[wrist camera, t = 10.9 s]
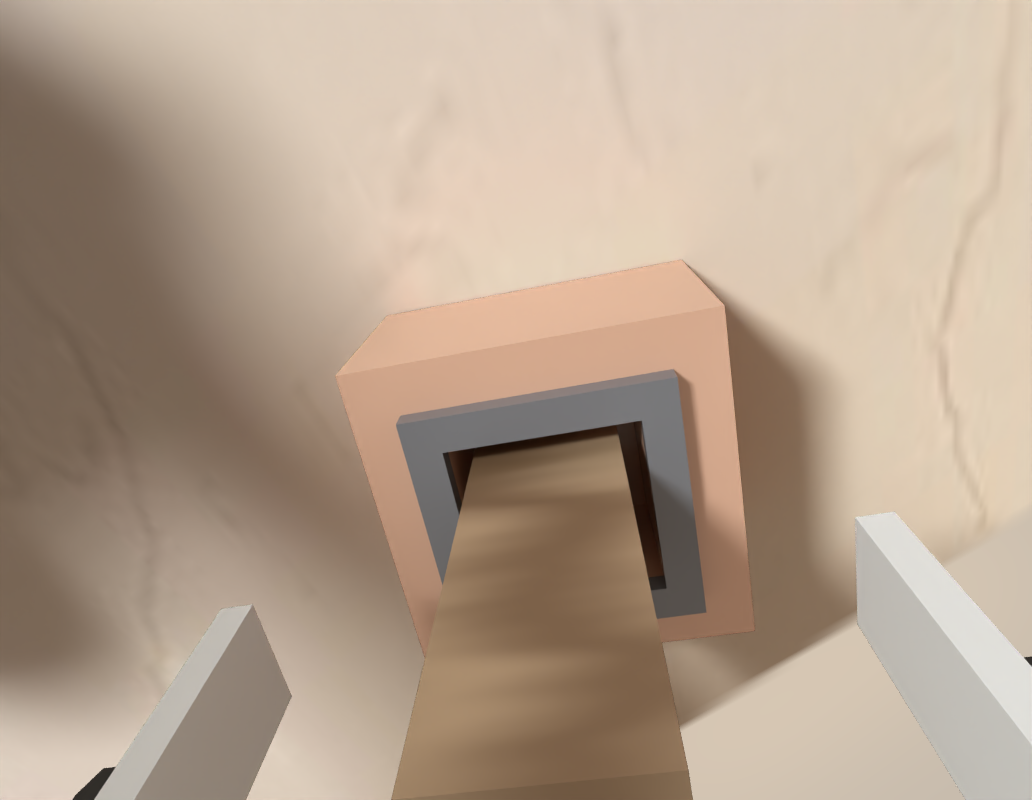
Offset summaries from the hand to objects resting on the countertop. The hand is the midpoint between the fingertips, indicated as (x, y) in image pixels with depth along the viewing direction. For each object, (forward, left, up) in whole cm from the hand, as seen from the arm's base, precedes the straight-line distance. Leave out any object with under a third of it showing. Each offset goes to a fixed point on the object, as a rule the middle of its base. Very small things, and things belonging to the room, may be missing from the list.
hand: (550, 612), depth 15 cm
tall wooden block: (0, 0, -8) cm, 8 cm away
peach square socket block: (0, 0, -10) cm, 10 cm away
